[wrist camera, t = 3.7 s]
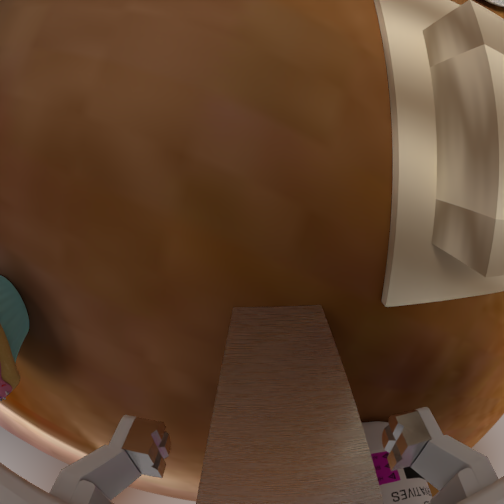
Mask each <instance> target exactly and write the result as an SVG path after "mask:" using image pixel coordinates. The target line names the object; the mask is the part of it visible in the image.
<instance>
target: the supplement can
mask: <svg viewBox="0 0 504 504" xmlns="http://www.w3.org/2000/svg"><path fill="white" fill-rule="evenodd" d="M388 425H389V423H388V422H381V421H373V422H365V423H362V426H363V430H364V433H365V436H366V440H367V443H368V446H369V450H370V453H371V457H372V460H373V464H374V467H375V471H376V475H377V479H378V482H379V486H380V490H381V494H382V498H383V502H384V504H430V500H431V499H432V495H431V492H430V489H429V486H428V484H427V481H426V480H425V479H424V478H423V477H422V476H421V475H419V474H418V473H417V472H416V471H415V470H413V469H412V468H411V466H409V467H405V468H402V469H398V470H394V471H391V469H390V466H389V463H388V460H387V457H388V455H389V452H387V451H386V450H384V448H383V444H382V433H383V430H384V428H385V427H386V426H388Z"/></svg>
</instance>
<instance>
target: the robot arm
mask: <svg viewBox="0 0 504 504" xmlns="http://www.w3.org/2000/svg"><path fill="white" fill-rule="evenodd" d="M388 423H389V425H388V426H386V427H385V428H384V430H383V433H382V444H383V448H384V450H386V451H387V452H389V455H388V457H387V460H388V463H389V466H390V469H391V471H394V470H398V469H402V468H405V467H409V466H411V468H412V469H413V470H415V471H416V472H417V473H418V474H419V475H421V476H422V477H423V478H424V479H425V480H427V481H428V482H429V483H430V484H432V485H433V486H434V487H435V488H437V489H438V490H439V492H438V493H437V494H436V495H435V496H434V497H433V498H432V499H431V500H430V504H504V476H503V477H501V478H500V479H498V477H497V475H496V473H495V471H494V469H493V467H492V465H491V463H490V461H489V459H488V457H487V456H485V455H483V454H481V453H479V452H477V451H475V450H474V449H472V448H470V447H468V446H466V445H464V444H462V443H461V442H459V441H457V440H455V439H454V438H452V437H450V436H448V435H443V433H442V432H441V430H440V428H439V426H438V424H437V422H436V420H435V418H434V417H433V415H432V413H431V411H430V409H429V408H428V407H422V408H419V409H415V410H414V409H413V410H410V411H406V412H402V413H397V414H393V415H391V416H390V417H389V419H388ZM165 428H166V426H165V424H164V422H161V421H155V420H150V419H144V418H139V417H135V416H130V415H124V416H123V417H122V418H121V420H120V422H119V424H118V426H117V428H116V431H115V433H114V435H113V437H112V439H111V441H110V443H109V445H104V446H102V447H100V448H99V449H97V450H95V451H94V452H92V453H90V454H88V455H87V456H85V457H83V458H81V459H80V460H78V461H76V462H74V463H72V464H71V465H69V466H67V467H65V468H63V469H62V470H61V472H60V474H59V476H58V477H57V479H56V481H55V483H54V485H53V487H52V489H51V491H50V493H47V492H45V491H44V490H42V489H40V488H38V487H37V486H35V485H33V484H32V483H30V482H28V481H27V480H25V479H23V478H22V477H20V476H19V475H17V474H16V473H14V472H13V471H11V470H10V469H9V468H7V467H6V466H4V465H3V464H1V463H0V504H114V503H113V502H112V501H111V500H112V499H113V498H114V497H116V496H117V495H118V494H119V493H121V492H122V491H123V490H124V489H125V488H127V487H128V486H129V485H130V484H131V483H133V482H134V481H135V480H136V479H137V478H139V477H140V476H141V474H144V475H149V476H154V477H160V478H162V477H163V474H164V470H165V467H166V463H165V461H164V459H165V458H166V457H168V456H169V453H170V449H171V440H170V436H169V434H168V433H167V432H165Z"/></svg>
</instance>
